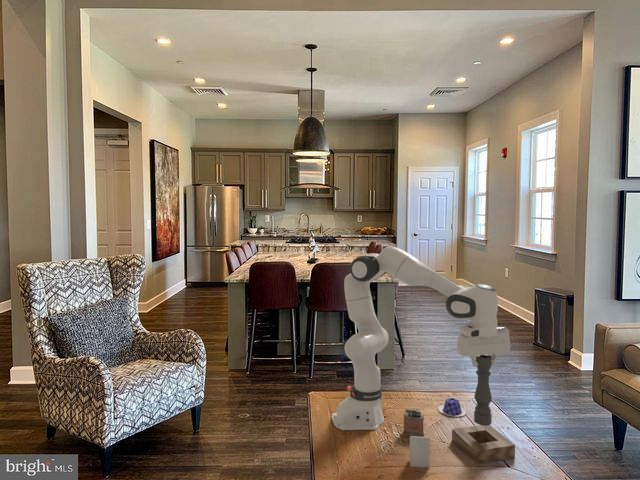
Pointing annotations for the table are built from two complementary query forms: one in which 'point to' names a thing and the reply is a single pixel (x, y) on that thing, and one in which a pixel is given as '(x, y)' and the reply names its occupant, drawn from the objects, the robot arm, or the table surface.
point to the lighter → (413, 423)
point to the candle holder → (483, 391)
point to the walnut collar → (483, 444)
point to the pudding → (452, 408)
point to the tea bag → (419, 451)
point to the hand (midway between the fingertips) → (483, 365)
